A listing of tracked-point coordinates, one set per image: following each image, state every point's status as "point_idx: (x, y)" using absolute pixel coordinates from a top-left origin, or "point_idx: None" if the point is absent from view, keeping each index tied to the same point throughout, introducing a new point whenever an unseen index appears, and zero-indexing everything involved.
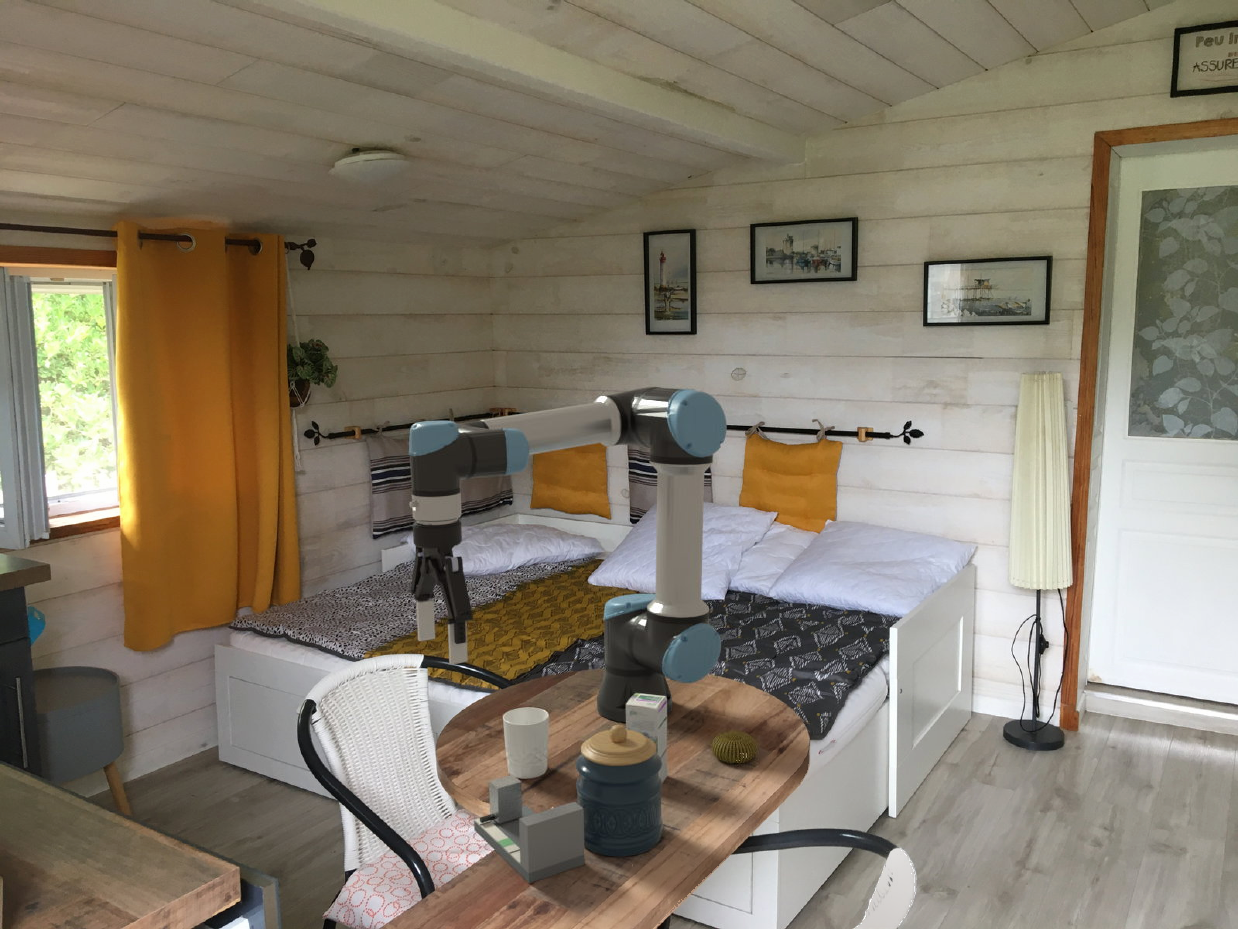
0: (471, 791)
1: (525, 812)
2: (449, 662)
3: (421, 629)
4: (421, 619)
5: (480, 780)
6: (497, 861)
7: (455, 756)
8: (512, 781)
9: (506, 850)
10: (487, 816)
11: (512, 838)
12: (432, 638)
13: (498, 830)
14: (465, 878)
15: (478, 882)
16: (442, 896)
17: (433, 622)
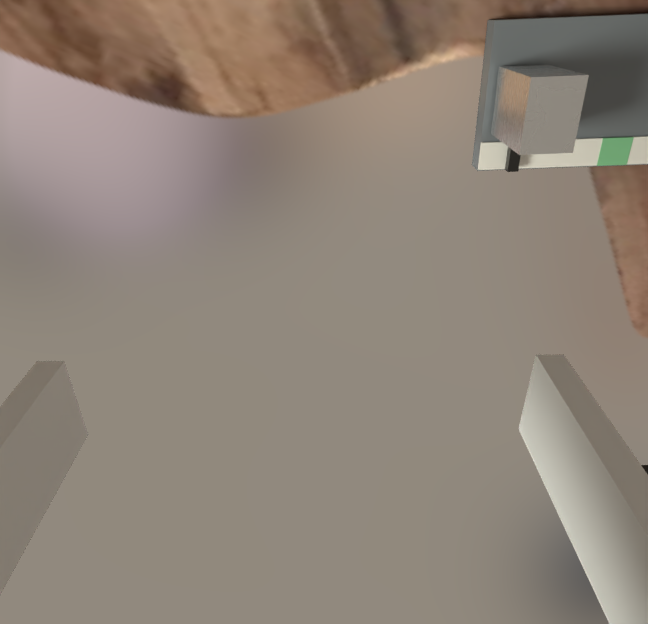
0: (294, 94)
1: (526, 41)
2: (522, 433)
3: (54, 476)
4: (21, 530)
5: (245, 45)
6: (612, 173)
7: (66, 45)
8: (568, 97)
9: (639, 163)
10: (516, 154)
11: (605, 128)
12: (66, 377)
13: None
14: (614, 247)
15: (644, 233)
16: (630, 296)
17: (11, 439)
